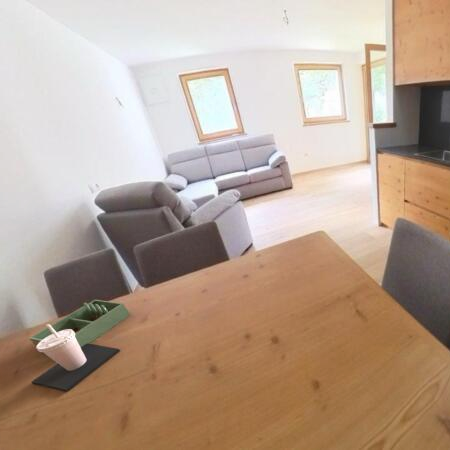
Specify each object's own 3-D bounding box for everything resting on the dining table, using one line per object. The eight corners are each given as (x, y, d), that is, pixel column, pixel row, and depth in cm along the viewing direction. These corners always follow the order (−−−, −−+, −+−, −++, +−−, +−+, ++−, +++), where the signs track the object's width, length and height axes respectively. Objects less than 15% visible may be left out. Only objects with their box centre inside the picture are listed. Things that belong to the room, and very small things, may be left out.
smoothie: (98, 358, 75) (68, 320, 69) (65, 379, 70) (29, 340, 64) (87, 351, 78) (57, 313, 72) (54, 370, 73) (19, 331, 66)
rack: (39, 350, 80) (23, 333, 77) (102, 310, 94) (91, 294, 91) (70, 356, 77) (55, 338, 74) (130, 314, 91) (119, 298, 88)
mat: (32, 383, 70) (30, 381, 70) (88, 345, 81) (87, 343, 80) (67, 391, 68) (65, 389, 68) (120, 350, 78) (118, 348, 78)
